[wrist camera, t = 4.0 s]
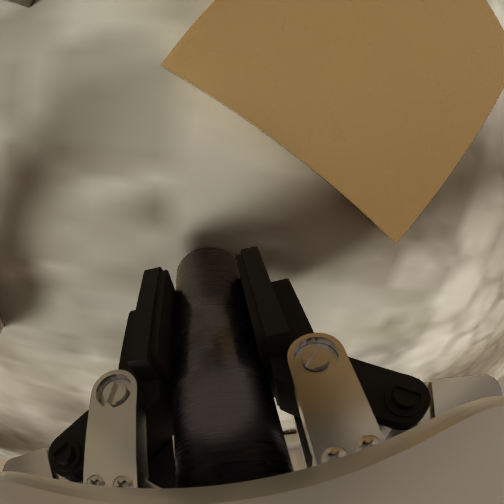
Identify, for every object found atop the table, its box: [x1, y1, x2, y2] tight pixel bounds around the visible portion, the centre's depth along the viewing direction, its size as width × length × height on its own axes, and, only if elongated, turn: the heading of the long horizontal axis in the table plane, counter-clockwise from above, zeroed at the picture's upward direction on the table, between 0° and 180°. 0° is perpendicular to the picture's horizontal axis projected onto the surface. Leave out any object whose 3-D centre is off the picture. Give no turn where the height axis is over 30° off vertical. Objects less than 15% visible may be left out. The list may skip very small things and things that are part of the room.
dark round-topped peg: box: [173, 248, 294, 488], centre depth 7 cm, size 3×3×9 cm
